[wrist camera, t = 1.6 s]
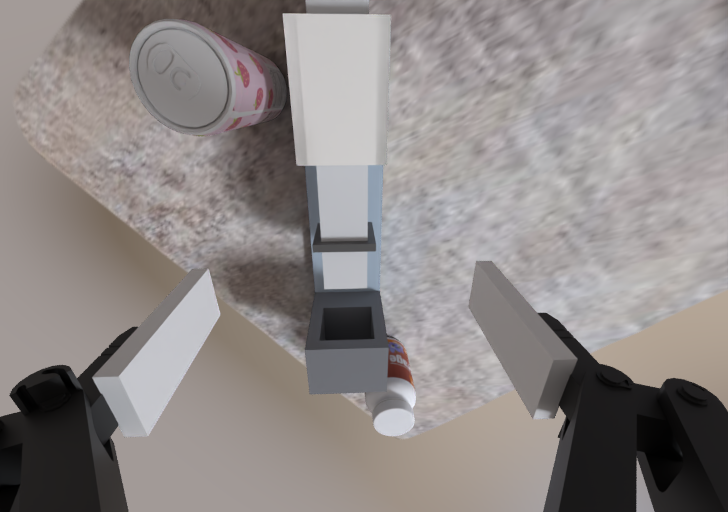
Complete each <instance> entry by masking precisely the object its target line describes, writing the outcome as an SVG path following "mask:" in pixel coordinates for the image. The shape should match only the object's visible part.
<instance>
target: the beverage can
mask: <svg viewBox="0 0 728 512" xmlns="http://www.w3.org/2000/svg"><path fill="white" fill-rule="evenodd" d="M129 70H130V75H131V81H132V83H133V86H134V89H135V91H136V93H137V95H138V97H139V99H140V101H141V102H142V104H143V105H144V106H145V108H146V109H147V110H148V111H149V113H150V114H151V115H152V116H154V117H155V118H156V119H157V120H158V121H159V122H160V123H162V124H163V125H165V126H167V127H168V128H170V129H172V130H174V131H177V132H179V133H183V134H188V135H193V136H210V135H214V134H218V133H222V132H226V131H230V130H235V129H239V128H243V127H247V126H251V125H255V124H259V123H263V122H267V121H270V120H272V119H274V118H275V117H277V116H278V115H279V114H280V112H281V111H282V110H283V108H284V105H285V103H286V98H287V88H286V83H285V80H284V77H283V75H282V73H281V72H280V70H279V68H278V67H277V66H276V65H275V64H274V63H273V62H272V61H271V60H269V59H268V58H266V57H264V56H262V55H260V54H258V53H256V52H254V51H252V50H250V49H248V48H246V47H244V46H242V45H240V44H238V43H236V42H234V41H232V40H230V39H228V38H226V37H224V36H222V35H220V34H218V33H216V32H214V31H212V30H210V29H207V28H205V27H203V26H201V25H199V24H197V23H195V22H191V21H188V20H184V19H162V20H158V21H154V22H152V23H150V24H149V25H147V26H145V27H144V28H143V29H142V30H141V31H140V32H139V33H138V34H137V36H136V38H135V40H134V42H133V44H132V47H131V51H130V55H129Z"/></svg>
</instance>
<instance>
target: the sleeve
mask: <svg viewBox="0 0 728 512" xmlns="http://www.w3.org/2000/svg"><path fill="white" fill-rule="evenodd" d="M283 23H284V34H285V45H286V56H287V67H288V78H289V89H290V99H291V110H292V121H293V132H294V143H295V154H296V165H297V166H329V165H387V134H388V103H389V71H390V40H391V15H380V14H293V13H283Z"/></svg>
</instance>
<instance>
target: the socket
mask: <svg viewBox="0 0 728 512" xmlns="http://www.w3.org/2000/svg"><path fill="white" fill-rule="evenodd" d="M388 353H389V346H388V340H387V334H386V327H385V321H384V315H383V309H382V302H381V296H380V291H360V292H316V293H315V296H314V301H313V307H312V313H311V318H310V324H309V330H308V336H307V341H306V347H305V355H306V365H307V374H308V382H309V392H310V394H334V393H363V392H387V374H388Z"/></svg>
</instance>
